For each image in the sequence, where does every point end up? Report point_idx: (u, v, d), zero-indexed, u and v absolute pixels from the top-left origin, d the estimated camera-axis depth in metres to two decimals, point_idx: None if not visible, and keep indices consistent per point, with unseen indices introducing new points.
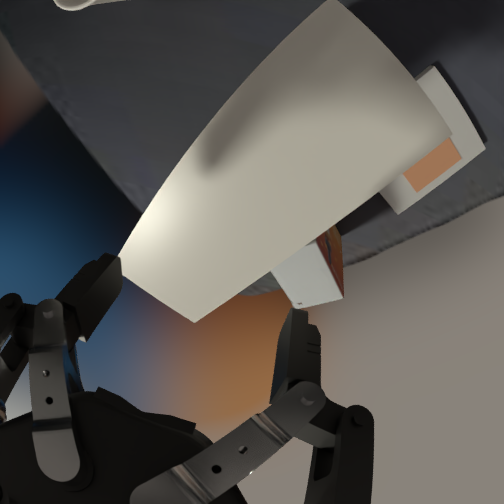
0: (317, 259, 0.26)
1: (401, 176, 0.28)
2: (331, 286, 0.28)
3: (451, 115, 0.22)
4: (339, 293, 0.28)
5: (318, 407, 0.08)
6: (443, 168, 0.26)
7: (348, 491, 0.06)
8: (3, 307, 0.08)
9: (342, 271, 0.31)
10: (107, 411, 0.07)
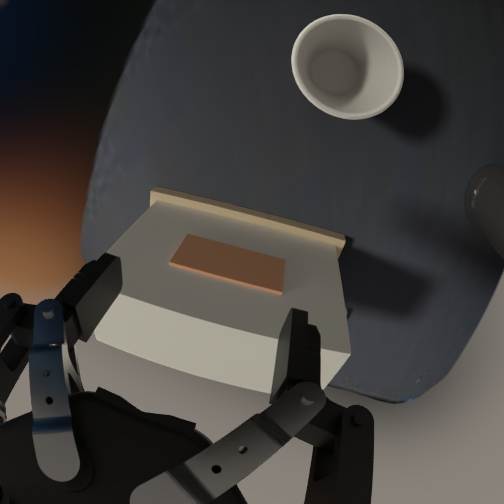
0: None
1: None
2: None
3: None
4: None
5: (318, 407, 0.08)
6: None
7: (348, 491, 0.06)
8: (3, 307, 0.08)
9: None
10: (107, 411, 0.07)
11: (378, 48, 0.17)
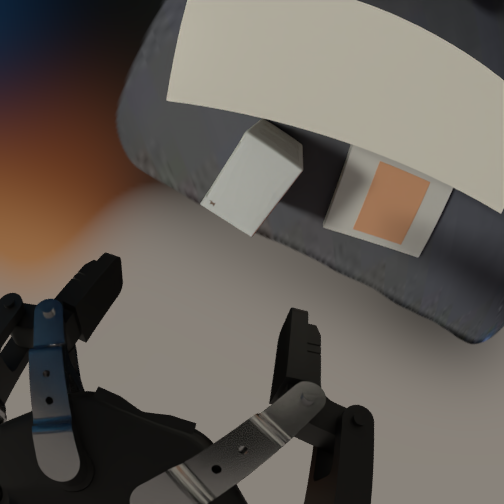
0: (283, 183, 0.23)
1: (359, 207, 0.33)
2: (258, 216, 0.25)
3: (427, 216, 0.31)
4: (255, 229, 0.26)
5: (318, 407, 0.08)
6: (385, 236, 0.34)
7: (348, 491, 0.06)
8: (3, 307, 0.08)
9: None
10: (107, 411, 0.07)
11: None
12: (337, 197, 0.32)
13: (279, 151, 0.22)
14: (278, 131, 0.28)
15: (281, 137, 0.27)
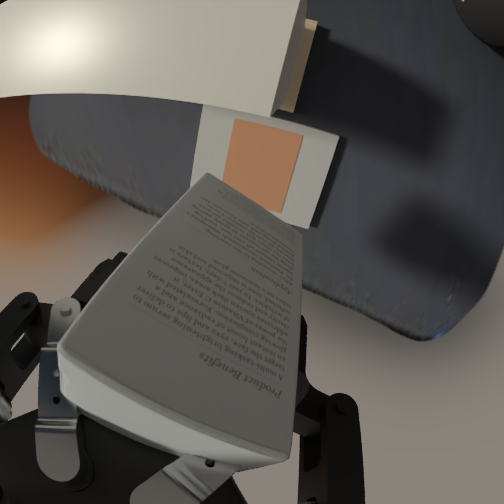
0: None
1: (221, 172, 0.31)
2: None
3: (307, 177, 0.30)
4: None
5: (301, 394, 0.08)
6: (258, 203, 0.32)
7: (340, 480, 0.06)
8: (18, 306, 0.08)
9: None
10: None
11: None
12: (196, 163, 0.31)
13: (201, 410, 0.05)
14: (239, 218, 0.11)
15: (240, 254, 0.10)
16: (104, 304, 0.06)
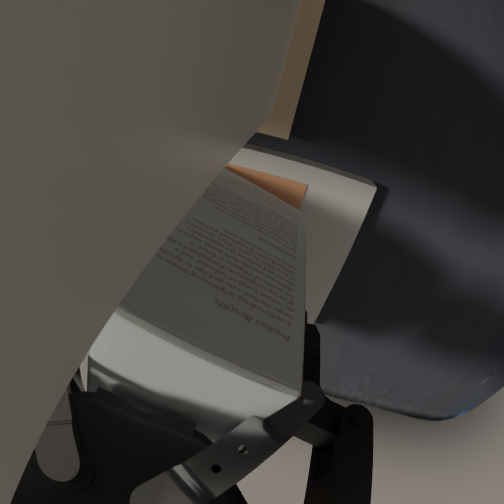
0: (244, 416, 0.07)
1: None
2: None
3: (313, 259, 0.17)
4: None
5: (317, 406, 0.08)
6: None
7: (348, 490, 0.06)
8: None
9: None
10: (107, 411, 0.07)
11: None
12: None
13: (217, 345, 0.06)
14: (245, 198, 0.13)
15: (247, 226, 0.11)
16: None
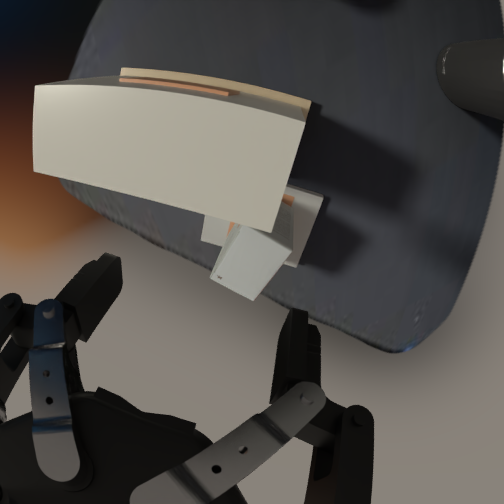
0: (277, 262, 0.29)
1: (227, 223, 0.39)
2: (258, 286, 0.31)
3: (297, 228, 0.38)
4: (256, 295, 0.31)
5: (318, 407, 0.08)
6: None
7: (348, 491, 0.06)
8: (3, 307, 0.08)
9: None
10: (107, 411, 0.07)
11: None
12: None
13: (272, 236, 0.28)
14: None
15: None
16: None
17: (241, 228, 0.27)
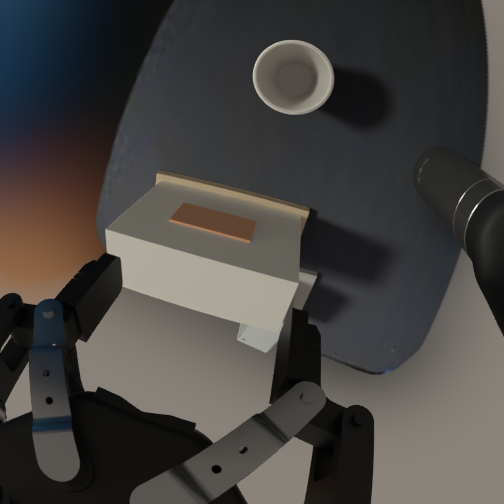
0: None
1: None
2: (269, 345, 0.44)
3: (297, 295, 0.52)
4: (268, 349, 0.45)
5: (318, 407, 0.08)
6: None
7: (348, 491, 0.06)
8: (3, 307, 0.08)
9: None
10: (107, 411, 0.07)
11: (318, 61, 0.26)
12: None
13: None
14: None
15: None
16: None
17: None
